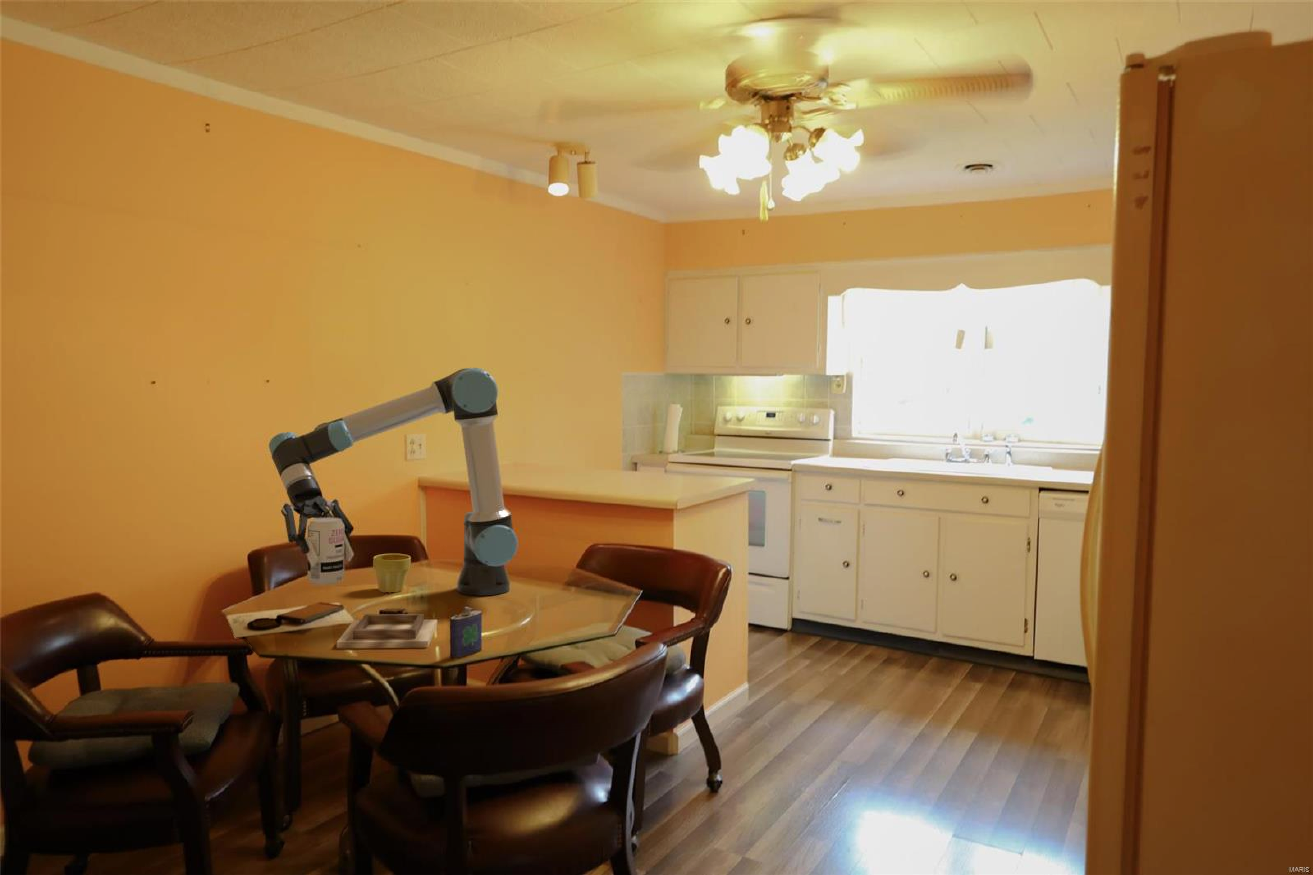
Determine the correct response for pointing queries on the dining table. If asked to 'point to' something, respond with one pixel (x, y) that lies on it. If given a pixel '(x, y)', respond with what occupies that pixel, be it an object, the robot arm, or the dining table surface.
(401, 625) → the oak stand
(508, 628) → the dining table surface
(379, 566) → the plant pot
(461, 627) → the flask
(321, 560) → the supplement can
